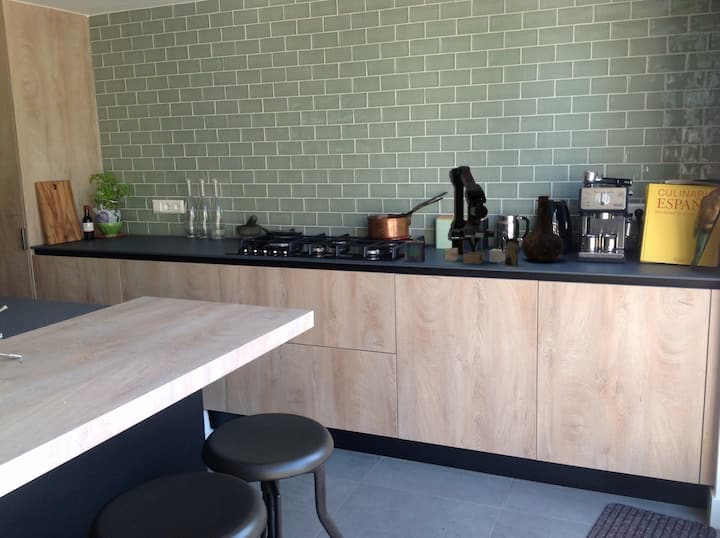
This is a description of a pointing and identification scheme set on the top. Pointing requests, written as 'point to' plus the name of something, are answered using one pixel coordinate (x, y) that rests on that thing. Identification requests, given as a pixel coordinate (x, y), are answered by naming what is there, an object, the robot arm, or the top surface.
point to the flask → (414, 251)
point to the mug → (510, 251)
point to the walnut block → (473, 257)
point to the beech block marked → (451, 254)
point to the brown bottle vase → (542, 237)
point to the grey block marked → (496, 255)
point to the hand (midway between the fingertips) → (473, 252)
